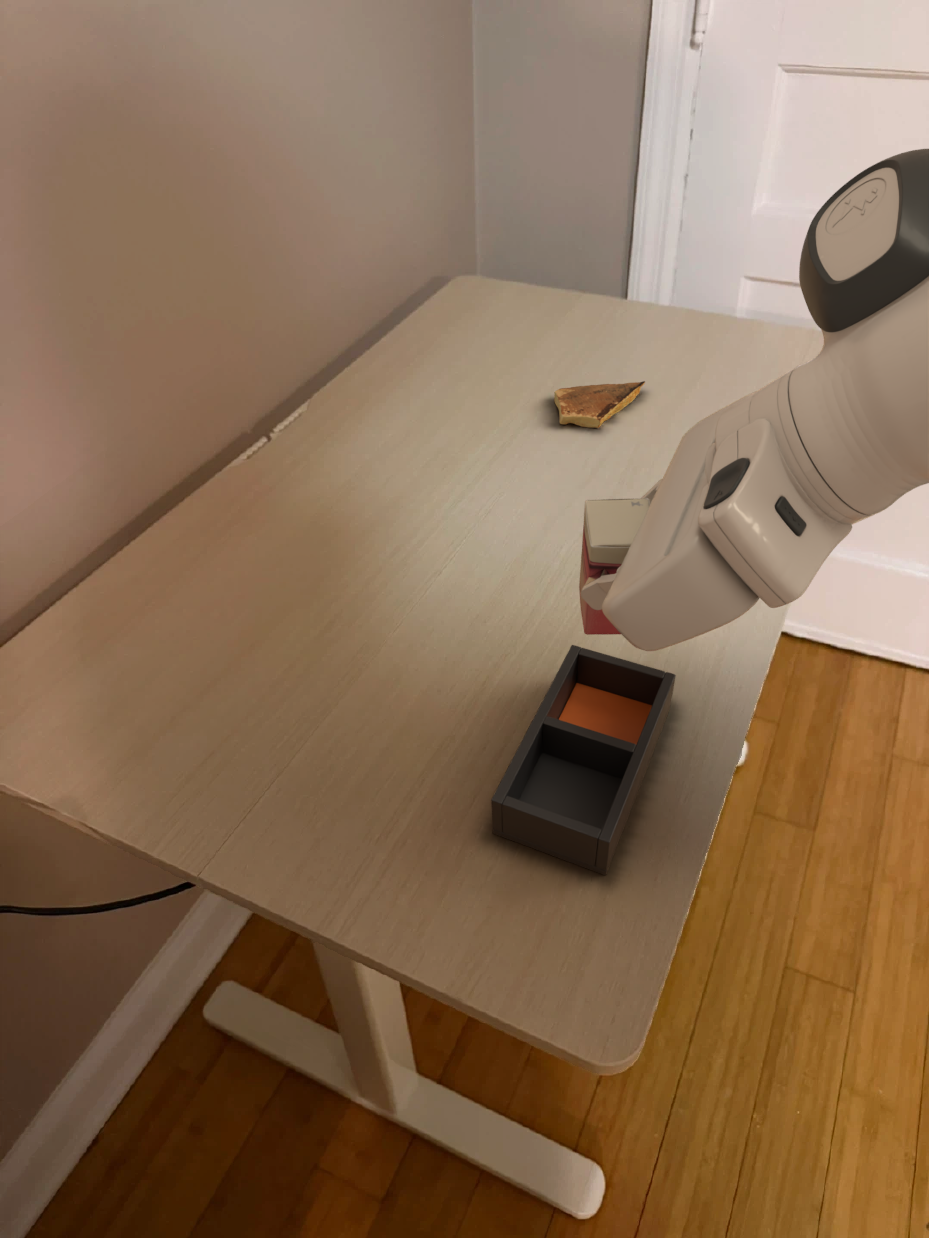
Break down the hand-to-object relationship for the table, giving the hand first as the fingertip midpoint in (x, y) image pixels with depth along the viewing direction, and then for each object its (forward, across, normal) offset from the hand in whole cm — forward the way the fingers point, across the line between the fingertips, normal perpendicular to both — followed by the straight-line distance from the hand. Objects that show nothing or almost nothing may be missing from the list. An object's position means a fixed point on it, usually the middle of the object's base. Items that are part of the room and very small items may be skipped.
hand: (607, 560), depth 59 cm
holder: (+11, +5, +12) cm, 17 cm away
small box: (+3, 0, +4) cm, 5 cm away
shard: (+22, -45, +1) cm, 51 cm away
